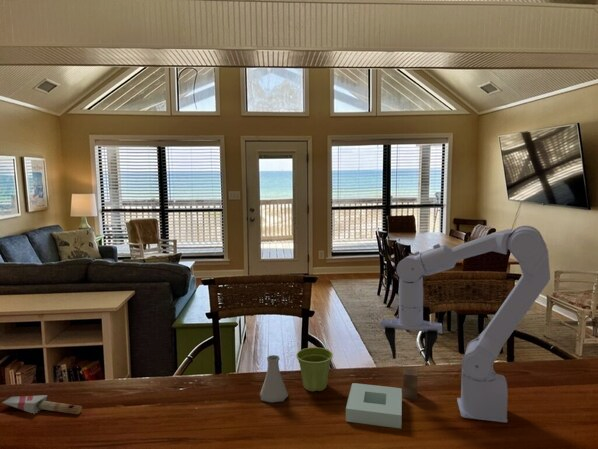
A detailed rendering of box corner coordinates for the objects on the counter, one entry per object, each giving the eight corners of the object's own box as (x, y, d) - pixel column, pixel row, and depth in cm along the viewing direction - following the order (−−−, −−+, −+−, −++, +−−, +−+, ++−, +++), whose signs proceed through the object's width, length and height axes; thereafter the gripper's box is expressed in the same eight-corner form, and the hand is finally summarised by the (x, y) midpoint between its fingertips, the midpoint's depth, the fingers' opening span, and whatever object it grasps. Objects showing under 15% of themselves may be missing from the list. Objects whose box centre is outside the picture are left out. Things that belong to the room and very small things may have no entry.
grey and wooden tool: (13, 389, 100) (85, 400, 96) (14, 400, 100) (85, 411, 97) (-1, 397, 96) (73, 409, 93) (-1, 408, 97) (73, 420, 93)
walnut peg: (416, 392, 102) (417, 369, 102) (417, 399, 99) (417, 375, 98) (402, 390, 103) (403, 368, 102) (402, 397, 100) (403, 374, 99)
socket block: (401, 400, 99) (401, 388, 98) (401, 428, 87) (401, 415, 87) (352, 394, 102) (352, 382, 101) (345, 421, 90) (345, 408, 90)
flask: (290, 389, 105) (289, 352, 104) (286, 404, 97) (285, 364, 97) (262, 388, 105) (261, 351, 104) (256, 403, 98) (255, 363, 97)
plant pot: (319, 399, 99) (319, 365, 99) (289, 388, 105) (289, 356, 104) (339, 384, 107) (339, 352, 106) (310, 374, 112) (310, 344, 112)
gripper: (440, 302, 101) (439, 354, 102) (381, 298, 104) (381, 349, 106) (443, 310, 94) (442, 366, 95) (380, 306, 98) (379, 361, 99)
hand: (410, 358), depth 100 cm, fingers open, 7 cm apart
